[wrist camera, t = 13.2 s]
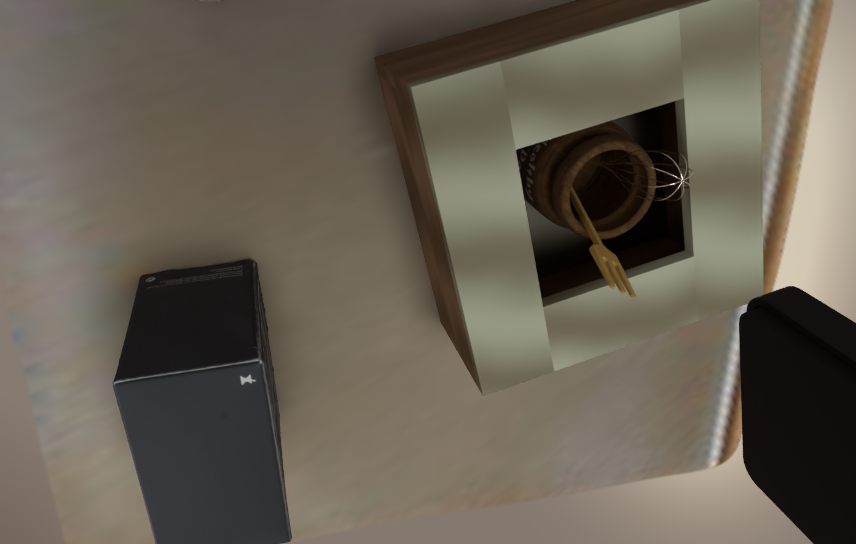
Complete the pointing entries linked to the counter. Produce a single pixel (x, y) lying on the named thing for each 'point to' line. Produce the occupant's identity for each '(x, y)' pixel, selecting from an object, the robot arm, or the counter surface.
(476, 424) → the counter surface
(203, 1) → the donut
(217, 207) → the counter surface
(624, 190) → the utensil holder
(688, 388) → the counter surface
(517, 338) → the drop box
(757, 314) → the robot arm
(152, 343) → the small box
